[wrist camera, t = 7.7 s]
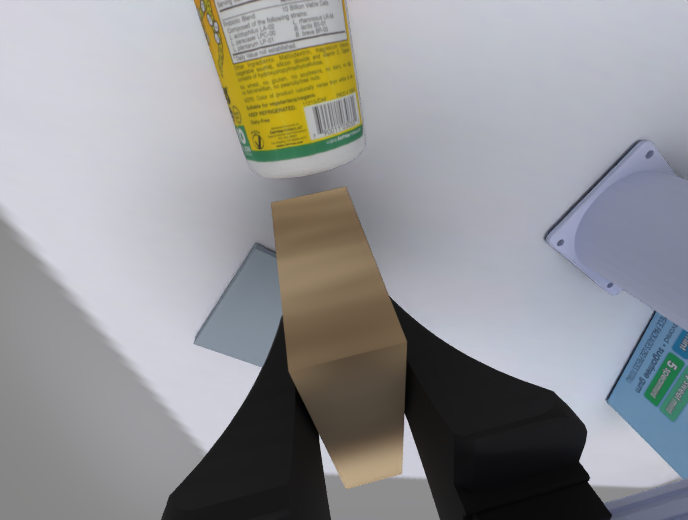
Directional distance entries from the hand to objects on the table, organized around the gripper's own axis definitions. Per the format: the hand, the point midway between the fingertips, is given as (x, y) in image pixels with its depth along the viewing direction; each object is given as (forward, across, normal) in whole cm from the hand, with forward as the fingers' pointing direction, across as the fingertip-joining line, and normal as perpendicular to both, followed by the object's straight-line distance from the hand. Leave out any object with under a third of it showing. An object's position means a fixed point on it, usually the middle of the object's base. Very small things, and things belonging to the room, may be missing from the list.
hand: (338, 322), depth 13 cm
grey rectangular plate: (+9, +2, +7) cm, 11 cm away
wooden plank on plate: (+2, 0, +1) cm, 2 cm away
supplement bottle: (+6, 0, -4) cm, 7 cm away
